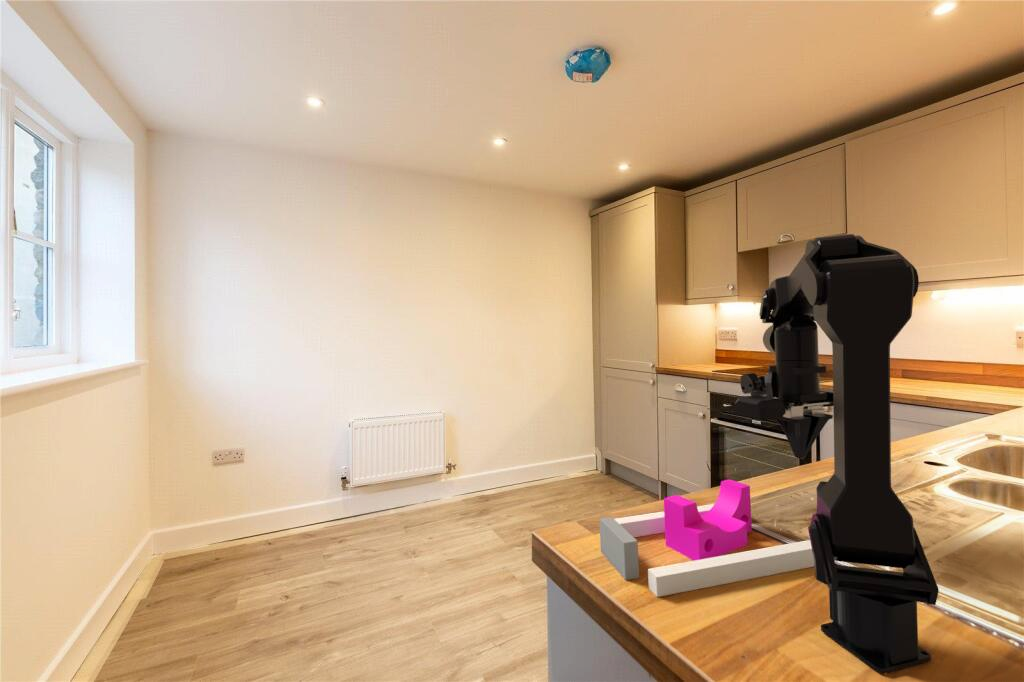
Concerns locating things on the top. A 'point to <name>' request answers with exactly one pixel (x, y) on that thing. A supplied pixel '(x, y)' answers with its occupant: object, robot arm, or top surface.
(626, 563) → the chute
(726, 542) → the toy block
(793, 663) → the top surface
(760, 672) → the top surface
